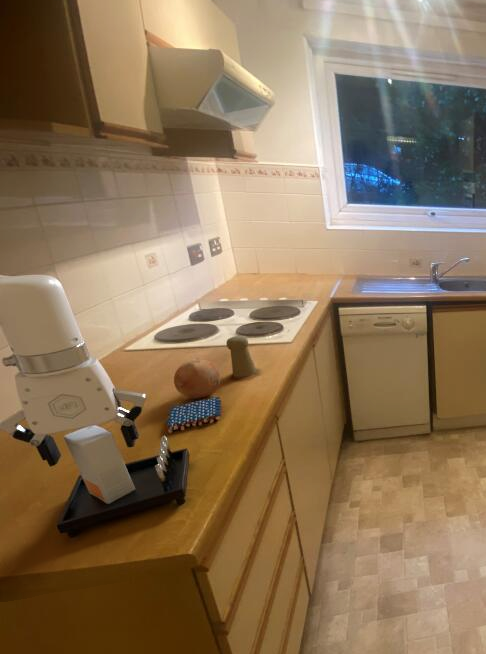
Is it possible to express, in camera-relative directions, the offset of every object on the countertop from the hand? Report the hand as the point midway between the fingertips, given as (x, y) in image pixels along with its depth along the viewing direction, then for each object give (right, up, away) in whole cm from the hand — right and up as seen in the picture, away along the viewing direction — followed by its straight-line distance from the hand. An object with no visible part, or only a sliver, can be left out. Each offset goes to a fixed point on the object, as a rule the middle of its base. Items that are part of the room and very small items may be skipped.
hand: (95, 452), depth 72 cm
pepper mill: (-8, +10, +53) cm, 55 cm away
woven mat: (-5, +1, +30) cm, 31 cm away
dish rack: (+2, -9, +5) cm, 11 cm away
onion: (-11, +5, +40) cm, 42 cm away
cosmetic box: (0, -8, +3) cm, 9 cm away
